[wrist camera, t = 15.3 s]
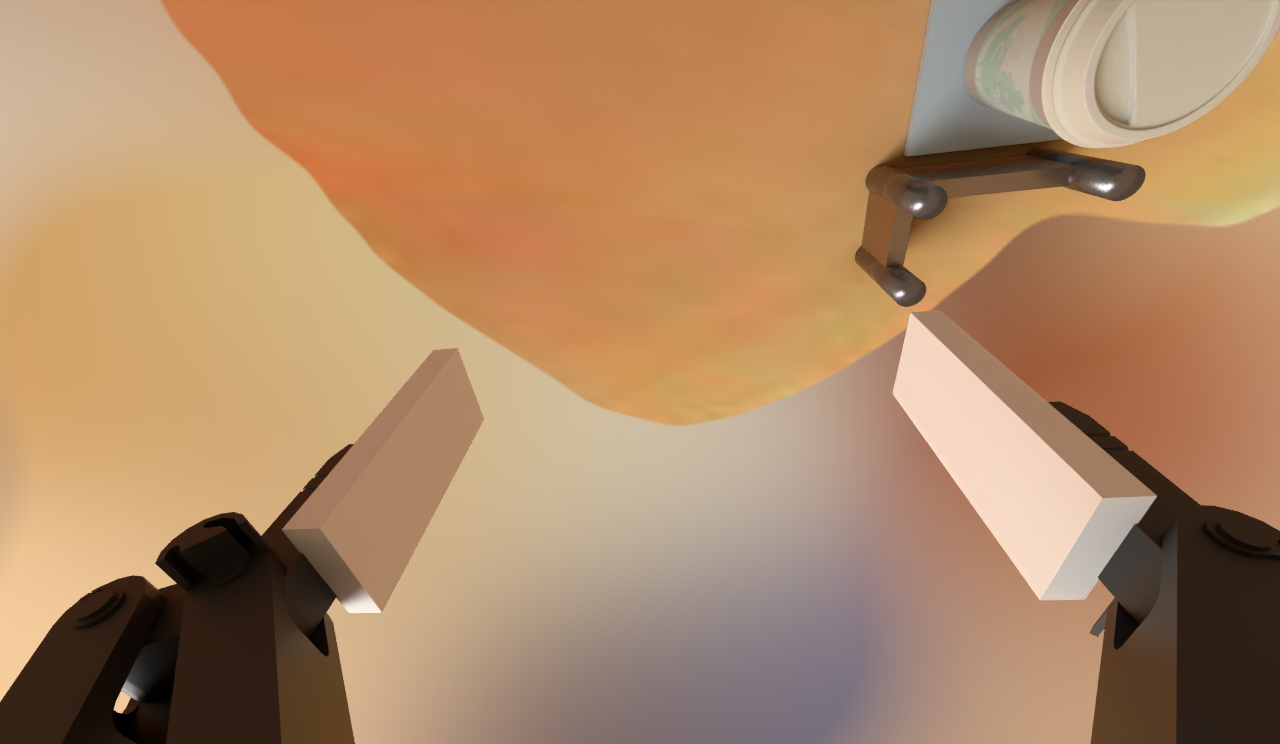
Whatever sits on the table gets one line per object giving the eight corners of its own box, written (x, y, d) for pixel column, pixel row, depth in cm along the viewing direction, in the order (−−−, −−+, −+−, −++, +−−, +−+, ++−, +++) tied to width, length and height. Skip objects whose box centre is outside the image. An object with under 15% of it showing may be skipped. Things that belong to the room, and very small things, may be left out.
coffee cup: (973, -34, 28) (1146, -94, 18) (1115, -26, 28) (1369, -83, 18) (920, 125, 33) (1033, 148, 23) (1042, 132, 33) (1210, 158, 22)
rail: (868, 166, 35) (916, 187, 28) (1053, 145, 33) (1151, 163, 27) (853, 267, 39) (892, 307, 32) (1018, 253, 38) (1094, 291, 31)
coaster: (938, -40, 28) (943, -42, 28) (1134, -69, 27) (1143, -72, 27) (904, 155, 34) (907, 156, 34) (1064, 137, 33) (1070, 138, 33)
